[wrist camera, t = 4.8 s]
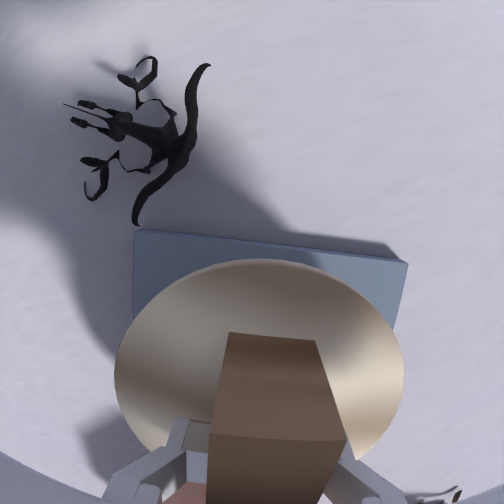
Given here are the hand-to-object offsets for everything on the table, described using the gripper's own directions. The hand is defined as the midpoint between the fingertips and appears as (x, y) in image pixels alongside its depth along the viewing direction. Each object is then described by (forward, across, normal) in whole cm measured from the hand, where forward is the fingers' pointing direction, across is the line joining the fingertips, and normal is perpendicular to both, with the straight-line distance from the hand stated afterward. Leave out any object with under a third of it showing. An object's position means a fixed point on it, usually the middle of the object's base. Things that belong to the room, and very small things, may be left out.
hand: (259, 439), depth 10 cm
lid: (+3, 0, 0) cm, 3 cm away
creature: (+7, +8, -10) cm, 15 cm away
